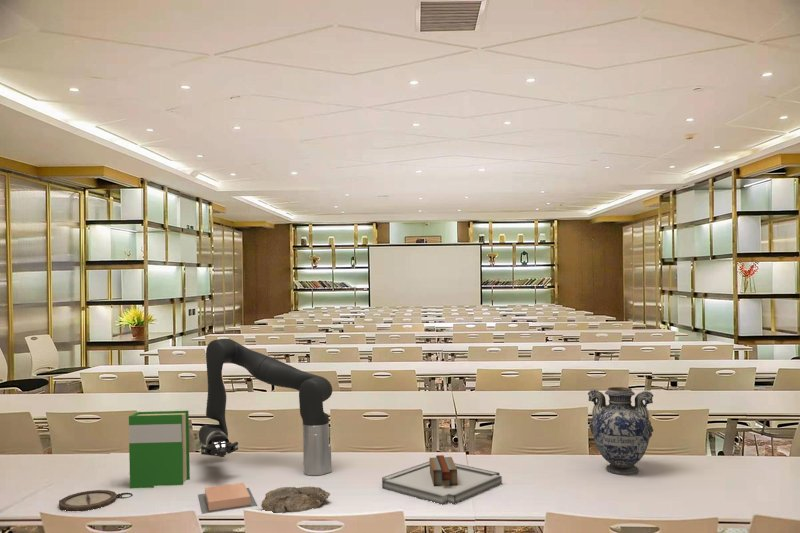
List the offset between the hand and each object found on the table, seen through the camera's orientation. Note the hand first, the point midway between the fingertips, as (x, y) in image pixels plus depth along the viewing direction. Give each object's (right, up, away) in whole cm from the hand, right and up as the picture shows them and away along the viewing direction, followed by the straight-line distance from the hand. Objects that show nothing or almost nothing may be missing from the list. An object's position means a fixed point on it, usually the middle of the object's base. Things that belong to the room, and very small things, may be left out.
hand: (222, 453), depth 215 cm
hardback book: (-23, -12, +7) cm, 27 cm away
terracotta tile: (+3, -9, -8) cm, 12 cm away
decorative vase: (+135, -8, +8) cm, 135 cm away
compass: (-38, -13, -11) cm, 41 cm away
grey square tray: (+72, -10, -2) cm, 73 cm away
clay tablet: (+28, -11, -18) cm, 34 cm away
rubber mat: (+5, -11, -14) cm, 18 cm away
